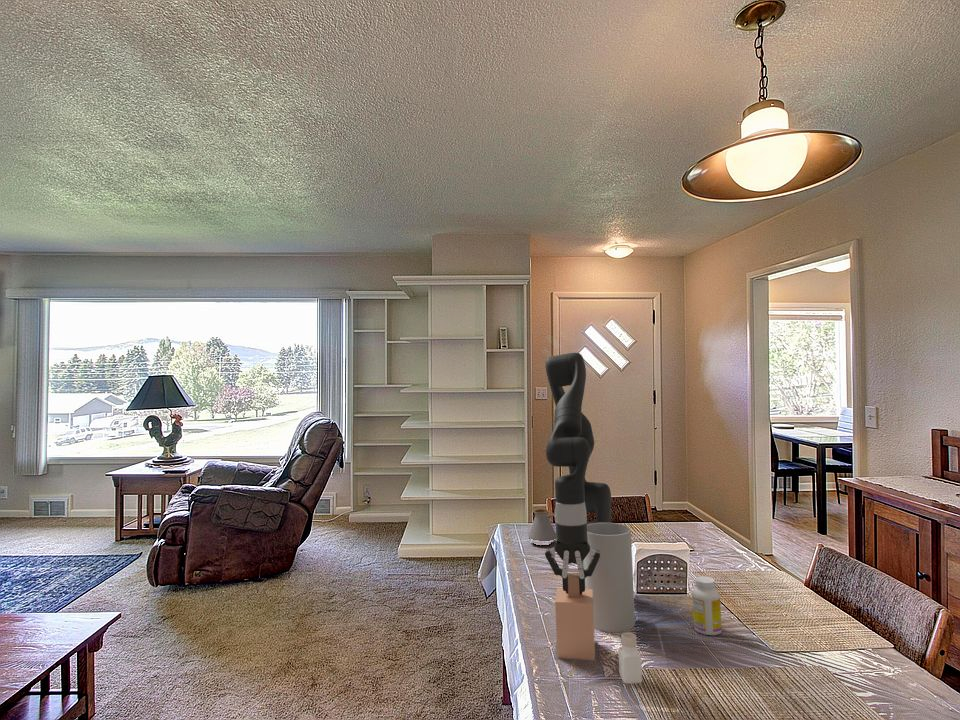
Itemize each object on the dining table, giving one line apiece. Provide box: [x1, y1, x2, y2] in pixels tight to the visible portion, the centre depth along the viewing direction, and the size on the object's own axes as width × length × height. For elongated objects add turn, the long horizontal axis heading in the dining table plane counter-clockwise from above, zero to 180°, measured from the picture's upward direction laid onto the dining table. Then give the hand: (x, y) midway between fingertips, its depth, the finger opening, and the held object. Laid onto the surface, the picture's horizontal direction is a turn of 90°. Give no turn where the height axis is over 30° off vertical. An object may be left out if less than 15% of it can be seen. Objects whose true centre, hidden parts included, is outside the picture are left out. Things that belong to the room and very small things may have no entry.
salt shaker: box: [618, 631, 643, 685], centre depth 114 cm, size 4×4×10 cm
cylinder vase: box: [584, 522, 636, 633], centre depth 142 cm, size 12×12×25 cm
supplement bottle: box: [691, 575, 723, 636], centre depth 136 cm, size 7×7×13 cm
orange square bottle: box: [554, 572, 596, 660], centre depth 127 cm, size 9×9×18 cm
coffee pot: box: [527, 508, 556, 541], centre depth 215 cm, size 21×12×15 cm, turn 108°
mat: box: [553, 640, 599, 663], centre depth 127 cm, size 10×10×1 cm
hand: (574, 592), depth 127 cm, fingers closed on orange square bottle, 2 cm apart
